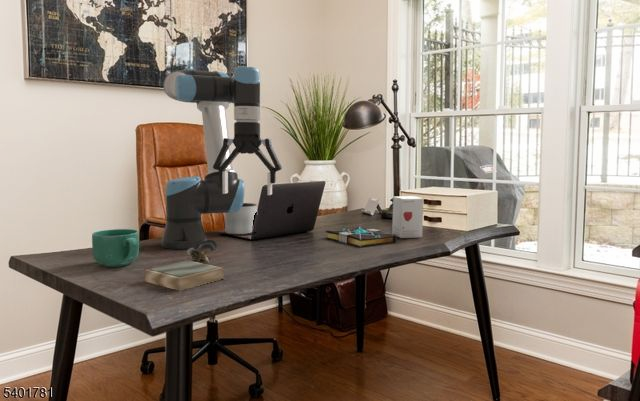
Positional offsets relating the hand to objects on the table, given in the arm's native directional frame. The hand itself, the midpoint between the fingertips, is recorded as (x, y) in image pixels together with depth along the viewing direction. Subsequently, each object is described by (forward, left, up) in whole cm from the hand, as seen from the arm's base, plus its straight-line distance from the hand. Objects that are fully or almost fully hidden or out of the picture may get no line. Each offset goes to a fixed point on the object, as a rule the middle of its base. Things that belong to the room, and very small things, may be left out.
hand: (247, 194), depth 159 cm
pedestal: (+4, -27, -20) cm, 33 cm away
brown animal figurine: (-9, -10, -20) cm, 24 cm away
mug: (-24, -28, -20) cm, 42 cm away
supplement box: (+17, +68, -20) cm, 73 cm away
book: (+8, +50, -21) cm, 54 cm away
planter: (-37, +33, -20) cm, 54 cm away
